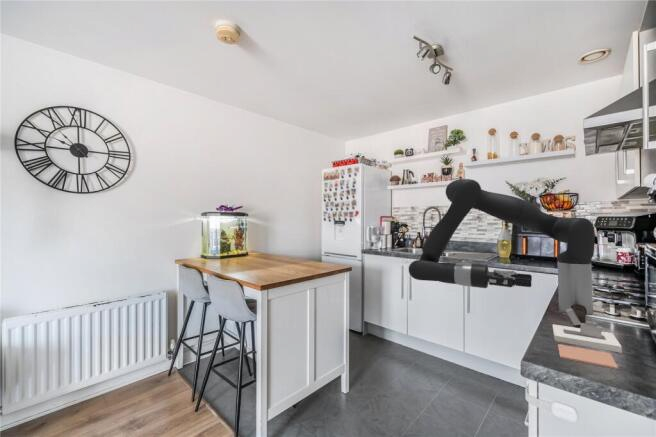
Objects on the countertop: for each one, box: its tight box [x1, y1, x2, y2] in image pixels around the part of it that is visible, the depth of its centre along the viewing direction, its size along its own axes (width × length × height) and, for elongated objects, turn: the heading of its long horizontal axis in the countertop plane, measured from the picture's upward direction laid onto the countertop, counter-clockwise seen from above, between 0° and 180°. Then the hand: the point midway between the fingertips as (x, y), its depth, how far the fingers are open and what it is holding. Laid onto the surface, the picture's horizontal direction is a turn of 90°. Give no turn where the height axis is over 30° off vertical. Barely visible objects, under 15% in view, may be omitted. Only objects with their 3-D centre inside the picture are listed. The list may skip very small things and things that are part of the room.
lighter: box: [565, 308, 602, 339], centre depth 79 cm, size 7×2×8 cm, turn 46°
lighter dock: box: [552, 324, 623, 354], centre depth 79 cm, size 10×13×2 cm
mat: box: [557, 343, 619, 370], centre depth 69 cm, size 8×10×1 cm
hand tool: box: [571, 304, 587, 328], centre depth 91 cm, size 19×4×5 cm, turn 137°
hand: (531, 280), depth 85 cm, fingers open, 8 cm apart
